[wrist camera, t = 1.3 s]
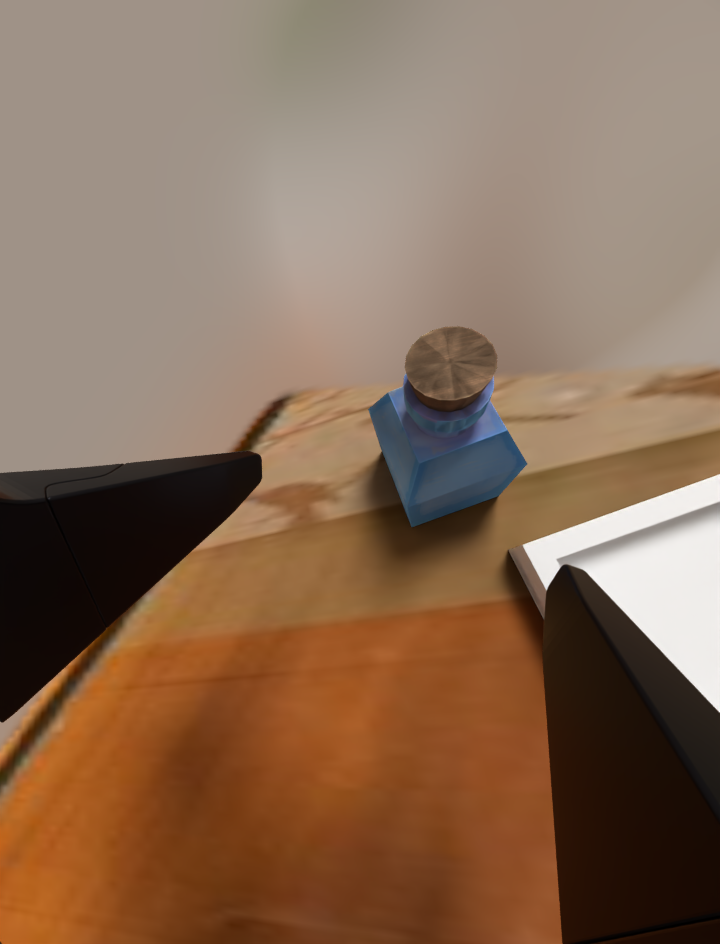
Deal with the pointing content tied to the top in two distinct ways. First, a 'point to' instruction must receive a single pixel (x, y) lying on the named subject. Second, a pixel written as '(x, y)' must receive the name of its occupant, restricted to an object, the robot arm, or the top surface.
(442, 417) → the perfume bottle
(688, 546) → the tray
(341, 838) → the top surface
